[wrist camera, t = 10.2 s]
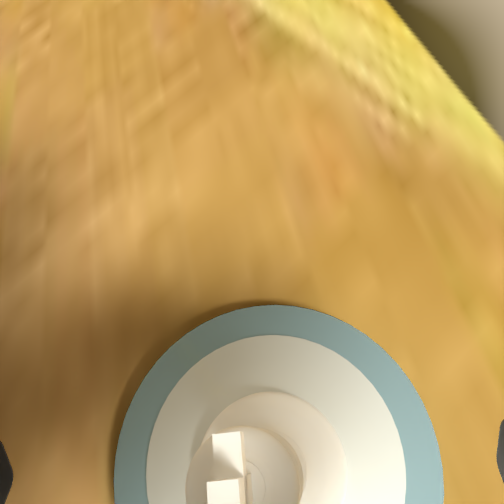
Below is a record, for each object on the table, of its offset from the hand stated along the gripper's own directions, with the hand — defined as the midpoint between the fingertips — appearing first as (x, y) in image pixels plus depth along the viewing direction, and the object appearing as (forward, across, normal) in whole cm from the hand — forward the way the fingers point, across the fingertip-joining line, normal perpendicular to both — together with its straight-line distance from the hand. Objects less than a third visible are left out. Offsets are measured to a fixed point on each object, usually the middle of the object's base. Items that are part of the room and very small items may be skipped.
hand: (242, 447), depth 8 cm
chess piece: (+5, 0, +6) cm, 8 cm away
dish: (+6, 0, +7) cm, 9 cm away
